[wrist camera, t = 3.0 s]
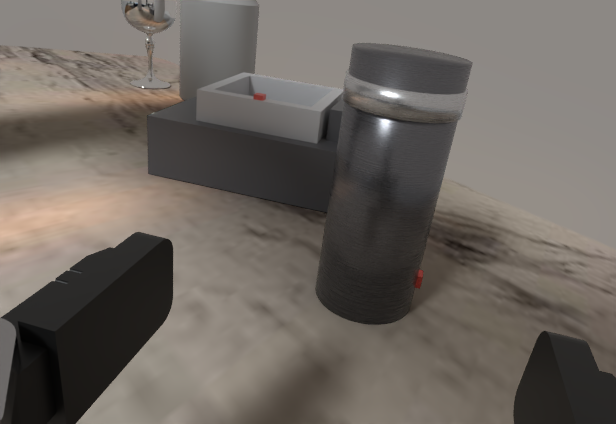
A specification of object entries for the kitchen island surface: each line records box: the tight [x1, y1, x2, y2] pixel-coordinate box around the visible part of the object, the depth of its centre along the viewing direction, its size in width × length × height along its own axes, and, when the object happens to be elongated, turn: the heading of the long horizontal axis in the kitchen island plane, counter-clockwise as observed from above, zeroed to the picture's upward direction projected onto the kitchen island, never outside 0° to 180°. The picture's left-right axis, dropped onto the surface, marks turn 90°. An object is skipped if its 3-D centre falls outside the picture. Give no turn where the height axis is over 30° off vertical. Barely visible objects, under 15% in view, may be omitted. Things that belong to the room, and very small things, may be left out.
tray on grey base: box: [147, 72, 344, 212], centre depth 35 cm, size 14×10×6 cm
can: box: [180, 0, 259, 101], centre depth 49 cm, size 8×8×12 cm
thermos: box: [316, 43, 472, 324], centre depth 21 cm, size 5×5×11 cm
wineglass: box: [121, 0, 177, 89], centre depth 55 cm, size 6×6×12 cm
